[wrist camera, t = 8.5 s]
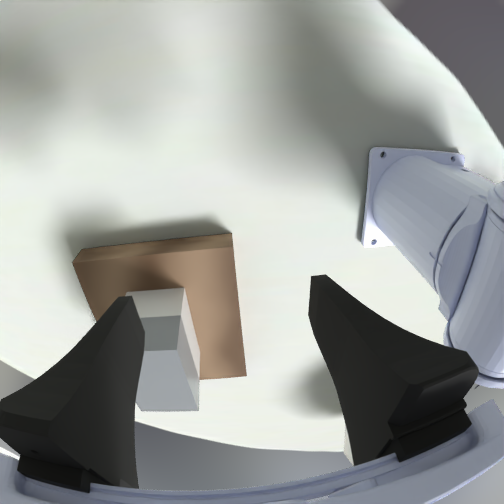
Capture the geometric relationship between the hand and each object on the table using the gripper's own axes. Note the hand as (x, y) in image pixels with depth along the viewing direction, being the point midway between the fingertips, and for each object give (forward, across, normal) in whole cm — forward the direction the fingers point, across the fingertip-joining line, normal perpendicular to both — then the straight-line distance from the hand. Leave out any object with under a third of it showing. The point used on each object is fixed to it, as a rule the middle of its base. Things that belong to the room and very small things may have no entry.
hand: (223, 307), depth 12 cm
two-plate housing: (+8, +5, +8) cm, 13 cm away
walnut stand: (+10, +5, +9) cm, 15 cm away
